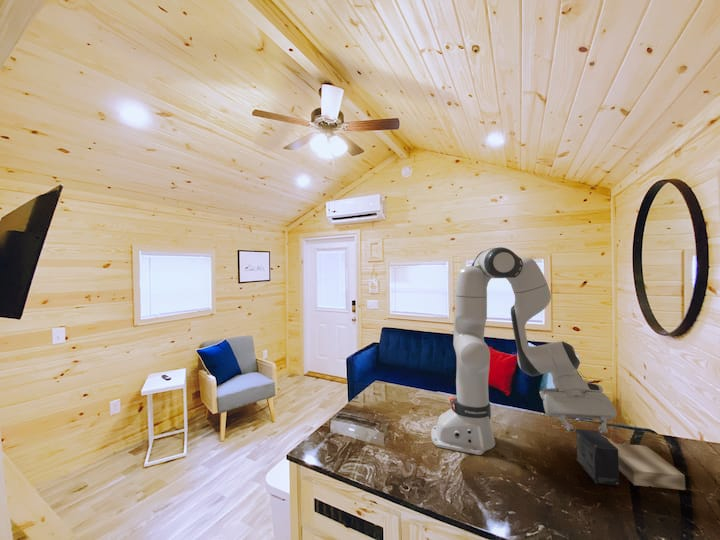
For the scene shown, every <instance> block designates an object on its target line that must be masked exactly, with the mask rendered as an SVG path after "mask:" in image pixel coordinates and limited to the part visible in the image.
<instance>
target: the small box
mask: <svg viewBox="0 0 720 540" xmlns="http://www.w3.org/2000/svg"><path fill="white" fill-rule="evenodd" d="M575 435H576V462H577V463H578V464H579V465H580V467H581V468H582V469H583V470H584V471H585V473H586V474H587V475H588V477H590V479H591V480H592V481H593V482H594V483H595V484H599V485H608V486H618V487H620V470H619V461H618V449H617V448H616V447H615V446H614V445H613V444H611V443H612V442H610V440H608V439H607V438H606V437H605V436H604V435H603V434H602V433H600V431H598V430H592V429H580V428H576V429H575Z"/></svg>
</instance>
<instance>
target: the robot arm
mask: <svg viewBox="0 0 720 540" xmlns="http://www.w3.org/2000/svg"><path fill="white" fill-rule="evenodd" d="M456 277H457V278H456V282H455V290H454V298H455V299H454V322H453V323H454V325H453V343H452V344H453V348H454V352H455V356H456V357H455V358H456V374H455V376H456V378H455V387H456V389H455V390H456V398H455V397H454V396H450V397H449V403H450V404H451V406H450V409H448V410H447V411H444V412H443V413H441V414H439V417H438V419H437V424H435V425H434V426H432V428H431V431H430V432H431V433H430V434H431V435H430V438H431V441H432V443H433V444H434V445H435V447H437V448H440V449H447V450H453V451H456V452H457V451H458V452H462V453H463V452H464V453H467V454H473V455H477V456H481V455H483V454H484V453H485V452H487V451H490V450H492V449H493V448H495V446H496V439H495V436H494V433H493V429H492V423H491V416H492V407H491V403H490V400H489V375H490V374H489V373H490V362H491V352H490V348H489V345H488V344H487V343H486V342H485V328H486V323H487V319H488V318H487V317H488V316H487V315H488V301H487V300H488V285H489V282H490V281H491V279H506V280H507V281H508V282H509V284H510V285H511V288H512V290H513V293H514V304H513V306H511V308H510V318H511V324H512V331H513V335H514V341H515V346H516V354H517V355H516V358H517V364H518V367H519V369H520V370H521V372H522V373H524V374H526V375H529V376H530V377H536V376H540V375H544V374H550V375H551V376H552V383H553V385H554V387H551V388H548V387H547V388H546V387H545V388H544V387H543V388H542V389H540V390H539V396H540V398H541V400H542V403H543V404H542V405H543V409H544V412H545V414H546V415H547V416H548V417H552V418H558V419H559V421H560V422H561V423H562V424H563V425H564V426H565V428H566V431H567V432H574V431H575V429H574V426H573V424H572V423H569V421H568V420H566V419H567V418H569V419H570V418H572V419H589V420H590V419H592V420H598V422H599V423H601V425H600V426H599V427H598V430H599V433H600V434H605V435H606V434H608V432H609V430H608V428H607V424H608V420H610V421H612V420H614V419H615V418H616V417H617V415H618V412H617V409H616V407H614V404H613V402H612V401H611V399H610V398H609V396H607V395H606V394H605V393H603V391H604V389H603V387H602V385H599V384H597V383H593V382H589V381H586V380H583V379H582V377H581V375H579V372H578V368H579V367H580V364H581V362H580V360H579V358H578V357H577V355H576V352H575V348H574V346H573V345H571V344H570V343H568V342H565V341H555V342H554V341H553V342H550V343H549V342H548V343H545V344H541V345H535V346H531V345H530V346H529V342H528V339H527V332H526V324H527V323H528V322H529V320H531V319H532V318H533V317H535V316H537V315H538V314H539V313H541V312H542V311H544V310H545V309H546V308H547V307H548V306H549V304H550V303H551V298H552V295H551V290H550V287H549V284H548V281H547V279H546V278H545V275H544V273H543V272H542V270H541V268H540V267H539V264H538V263H537V262H536V261H535V260H534V259H533V258H532V257H531V258H530V257H520V256H519V255H517V254H516V253H515V252H514V251H513V250H511V249H510V248H506V247H502V246H501V247H500V246H499V247H491V248H487V249H485V250H482V251H481V252H480V253H478V255H477V256H476V257H475V259H474V261H473V262H472V263H471V265H469V266H468V265H467V266H465V267H461V268H460V269H459V270H458V272H457V276H456Z"/></svg>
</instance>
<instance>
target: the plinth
mask: <svg viewBox="0 0 720 540" xmlns="http://www.w3.org/2000/svg"><path fill="white" fill-rule="evenodd" d="M610 443H611V444H613V445H614V446H615V447H616V448H617V449H618V461H619V472H621V474H622V475H623V476H625V477H626V479H628V480H629V482H631V484H633V486H642V487H649V486H651V488H659V489H661V488H662V489H672V490H679V491H680V490H681V491H686V477H685V476H686V475H685V474H683V473H682V472H681V471H680V470H679V469H677V468H676V467H675V466H674V465H673V464H671V463H670V462H668V461H667V460H666V459H664V458H663V457H662V456H660V455H659V454H658V453H656V452H655V451H653V449H651V448H649V447H648V446H647V445H641V444H625V443H612V442H610Z"/></svg>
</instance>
